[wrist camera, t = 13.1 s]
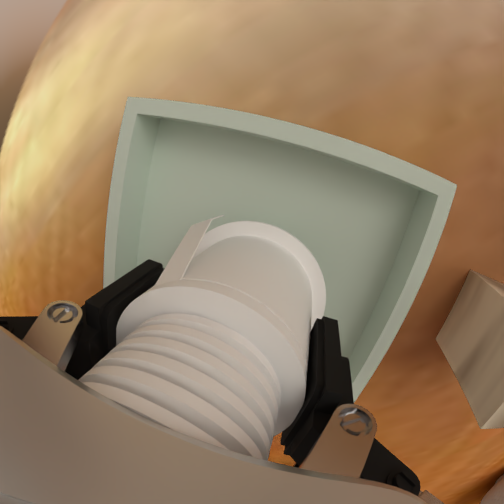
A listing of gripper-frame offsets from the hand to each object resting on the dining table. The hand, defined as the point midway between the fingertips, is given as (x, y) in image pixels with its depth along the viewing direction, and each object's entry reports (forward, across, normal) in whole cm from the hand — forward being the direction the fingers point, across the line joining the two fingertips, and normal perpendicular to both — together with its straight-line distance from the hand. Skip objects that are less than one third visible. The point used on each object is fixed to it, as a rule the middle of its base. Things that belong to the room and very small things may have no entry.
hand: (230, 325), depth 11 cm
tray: (+6, 0, 0) cm, 6 cm away
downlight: (+3, 0, 0) cm, 3 cm away
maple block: (+6, -15, -1) cm, 16 cm away
